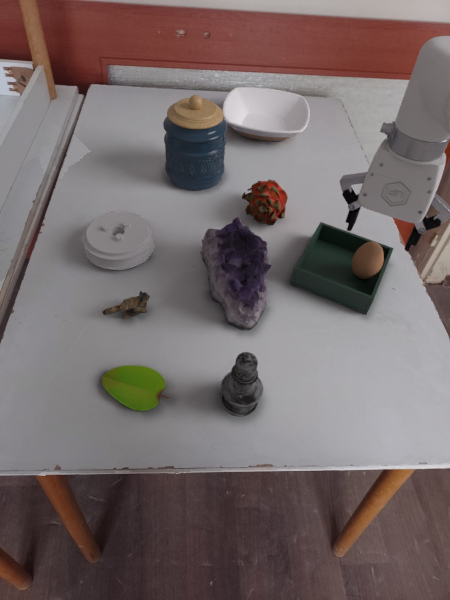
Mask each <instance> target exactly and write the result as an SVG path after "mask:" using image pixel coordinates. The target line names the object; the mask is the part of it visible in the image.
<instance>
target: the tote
mask: <svg viewBox="0 0 450 600" xmlns="http://www.w3.org/2000/svg"><path fill="white" fill-rule="evenodd" d="M367 242H376V243H378V244H379V245H380V246H381V247H382V249H383V253H384V261H383V265H382V268H381V269H380V271H379V272H378V273H377V274H376V275H375V276H374V277H372V278H369V279H360V278H358V277H357V276H356V275H355V274H354V272H353V270H352V259H353V256H354V254H355V252H356V251H357V250H358V249H359V247H361V246H362V245H363V244H365V243H367ZM393 251H394V247H391V246H389V245H386V244H383V243H380V242H379V241H378V242H377V241H375V240H372V239H369V238H366V237H364V236H361V235H359V234H356V233H353V232H351V231H347V230H345V229H341V228H339V227H336V226H333V225H330V224H328V223H325V222H323V221H320V222H319V224H318V226H317V227H316V229H315V231H314V233H313V234H312V236H311V237H310V239H309V241H308V243H307V245H306V246H305V248H304V249H303V252H302V253H301V254H300V256H299V258H298V260H297V262H296V263H295V265H294V267H293V269H292V273H291V278H290V280H289V285H292V286H295V287H297V288H299V289H301V290H304V291H307V292H309V293H312V294H314V295H316V296H319V297H322V298H323V299H326V300H329V301H331V302H334V303H337V304H339V305H341V306H343V307H346V308H348V309H351V310H354V311H356V312H359V313H361V314H364V315H367V314H368V313H369V310H370V308H371V306H372V304H373V302H374V300H375V297H376V296H377V293H378V289H379V287H380V285H381V282H382V280H383V277H384V274H385V272H386V270H387V267H388V264H389V262H390V260H391V256H392V254H393Z"/></svg>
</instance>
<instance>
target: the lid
mask: <svg viewBox="0 0 450 600" xmlns="http://www.w3.org/2000/svg"><path fill="white" fill-rule="evenodd" d="M154 234H155V232H154V229H153V226H152V224H151V223H150V222H149V221H148V220H147V219H146V218H145V217H142V216H140V215H138V214H136V213H132V212H127V211H111V212H108V213H104V214H101V215H100V216H97V217H96V218H94V219H92V220H91V221H90V222H89V223H88V224H87V225H86V226H85V227H84V229H83V231H82V234H81V242H82V245H83V249H84V250H83V251H84V254H85V256H86V259H88V260H89V261H90V263H92V264H93V265H94V266H96V267H99V268H101V269H104V270H105V269H106V270H110V271H122V270H123V271H124V270H129V269H132V268H135V267H137V266H139V265H141V264H143V263H145V262H146V261H147V260H148V259H149V258H150V257H151V256H152V255H153V252H154V250H155V239H154V238H155V235H154Z"/></svg>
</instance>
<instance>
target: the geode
mask: <svg viewBox="0 0 450 600" xmlns="http://www.w3.org/2000/svg"><path fill="white" fill-rule="evenodd" d="M200 256H201V260H202V261H203V263H204V265H205V266H206V269H207V279H208V281H209V282H208V283H209V287H210V297H211V299H212V300H213V301H214V302H216V303H219V304H220V305H221V307H222V308H223V310H224V313H225V318H226V321H227V323H228V325H231V326H233V327H236V328H238V329H240V330H247V331H250V330H253V328H255V326H256V325H257V324H258V321H260V320H261V317H262V315H263V314H264V312H265V310H266V308H267V306H268V304H267V303H268V300H267V299H268V290H267V279H268V272H269V270H270V269H271V268H272V264H271V263H269V262H270V260H269V256H268V242H267V241H265V240H263V238H262V236H259V235H258V234H255V232H252V230H251V229H250V227H249V226H248V225H243V224H242V220H241V217H240V216H236V217H235V218H234V219H233V220H232V221H231V223H228V224H226V225H224V226H223V227H222V228H220V229H217V228H207V230H206V231H205V234H204V235H203V238H202V239H201V251H200Z"/></svg>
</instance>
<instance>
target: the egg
mask: <svg viewBox="0 0 450 600" xmlns="http://www.w3.org/2000/svg"><path fill="white" fill-rule="evenodd" d="M376 242H377V241H375V242H367V243H365V244H363V245H362V246H361V247H359V249H358V250H357V251H356V252H355V254H354V256H353V259H352V270H353V272H354V274H355V275H356V276H357V277H358V278H360V279H369V278H372V277H374V276H375V275H376V274H377V273H378V272H379V271H380V269H381V268H382V265H383V261H384V253H383V249H382V247H381V246H380V245H379V244H378V243H379V242H378V243H376Z"/></svg>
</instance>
